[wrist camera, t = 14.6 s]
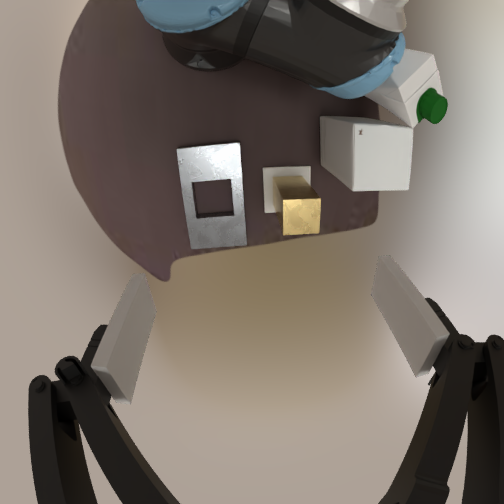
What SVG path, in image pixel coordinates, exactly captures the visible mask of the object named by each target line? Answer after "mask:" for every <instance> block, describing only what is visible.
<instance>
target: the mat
mask: <svg viewBox="0 0 504 504" xmlns="http://www.w3.org/2000/svg"><path fill="white" fill-rule="evenodd" d="M281 176H303V178H304V179H305V180H306V181H307V182H308V184H309V185H310V166H282V167H263V185H264V208H265V213H272V212H276V211H275V208H274V205H273V177H281Z"/></svg>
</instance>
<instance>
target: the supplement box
mask: <svg viewBox="0 0 504 504" xmlns="http://www.w3.org/2000/svg"><path fill="white" fill-rule="evenodd" d="M412 145H413V128H411V127H407V126H404V125H400V124H395V123H390V122H386V121H381V120H376V119H370V118H364V117H346V116H320V152H321V166H323V167H324V168H325V169H327V170H328V171H329V172H330V173H332V174H333V175H334V176H335V177H337V178H338V179H339V180H340V181H341V182H343V183H344V184H345V185H346V186H347V187H348V188H350V189H351V190H352V191H380V190H409V182H410V170H411V158H412Z"/></svg>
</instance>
